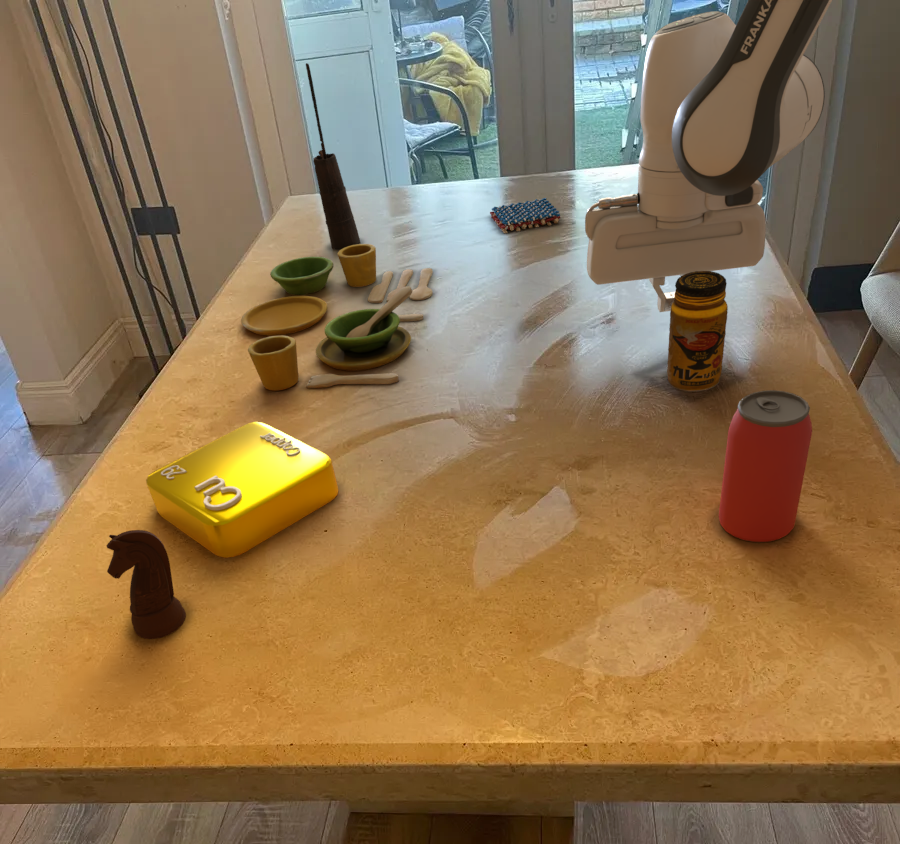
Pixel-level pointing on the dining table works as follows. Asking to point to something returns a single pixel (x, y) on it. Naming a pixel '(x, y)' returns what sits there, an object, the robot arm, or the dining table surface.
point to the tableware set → (348, 336)
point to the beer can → (765, 465)
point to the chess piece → (147, 583)
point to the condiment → (697, 331)
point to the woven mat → (524, 215)
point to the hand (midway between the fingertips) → (670, 309)
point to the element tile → (243, 488)
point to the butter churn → (333, 192)
